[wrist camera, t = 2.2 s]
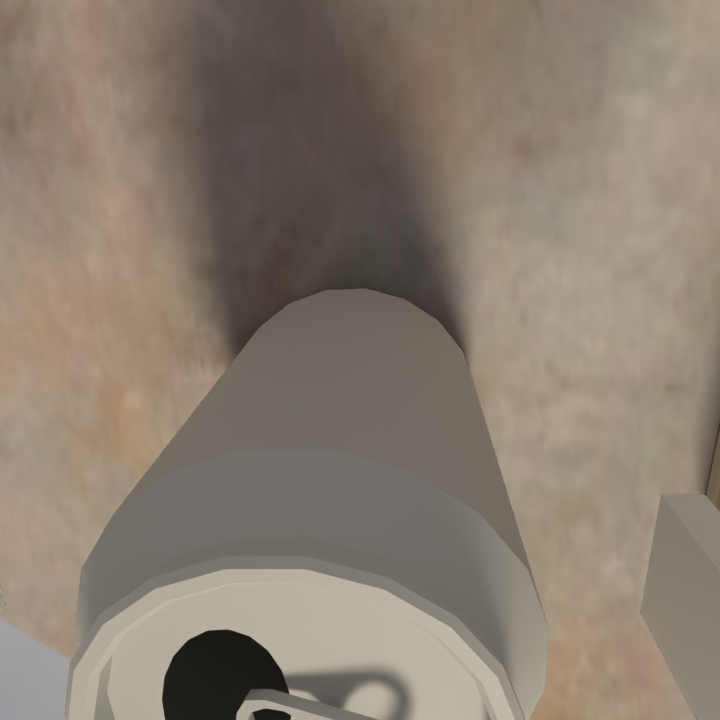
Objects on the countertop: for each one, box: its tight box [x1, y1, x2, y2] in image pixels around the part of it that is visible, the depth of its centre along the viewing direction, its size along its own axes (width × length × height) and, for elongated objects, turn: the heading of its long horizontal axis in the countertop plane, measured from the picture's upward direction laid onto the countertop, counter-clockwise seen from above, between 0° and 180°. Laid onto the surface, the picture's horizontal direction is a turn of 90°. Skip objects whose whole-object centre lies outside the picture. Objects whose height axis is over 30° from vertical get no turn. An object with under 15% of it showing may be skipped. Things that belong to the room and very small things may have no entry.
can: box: [65, 288, 549, 720], centre depth 13 cm, size 8×8×12 cm
